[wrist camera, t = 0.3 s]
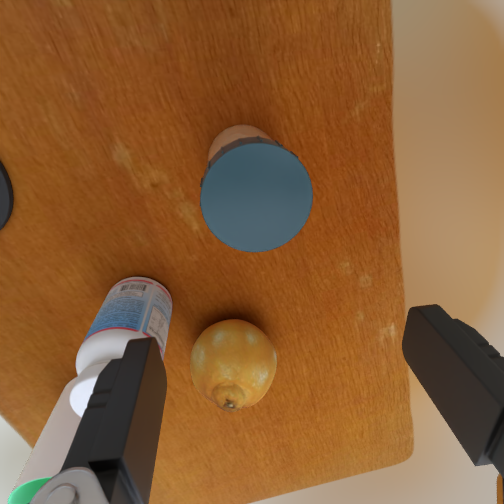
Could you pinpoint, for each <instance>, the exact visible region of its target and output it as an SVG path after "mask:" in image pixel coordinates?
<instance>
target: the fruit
mask: <svg viewBox="0 0 504 504" xmlns="http://www.w3.org/2000/svg"><path fill="white" fill-rule="evenodd" d="M276 366H277V355H276V351H275V348H274V346H273V344H272V343H271V341H270V340H269V338H268V337H267V336H266V335H265V333H263V332H262V331H261V330H260V329H259V328H258V327H256V326H255V325H253V324H251V323H249V322H247V321H244V320H240V319H229V320H224V321H220V322H218V323H215V324H213V325H211V326H210V327H208V328H207V329H205V330H204V331H203V332H202V333H201V335H200V336H199V337H198V339H197V340H196V342H195V344H194V346H193V348H192V352H191V358H190V371H191V377H192V380H193V384H194V386H195V387H196V389H197V390H198V392H199V393H200V394H201V395H202V396H204V397H205V398H206V399H208V400H209V401H211V402H212V403H214V404H216V405H217V406H218V407H220V408H221V409H222V410H224V411H227V412H235V411H238V410H240V409H242V408H247V407H250V406H252V405H254V404H255V403H257V402H258V401H259V400H260V399H261V398H262V397H263V396H264V395H265V394H266V392H267V391H268V389H269V387H270V385H271V383H272V381H273V379H274V376H275V372H276Z"/></svg>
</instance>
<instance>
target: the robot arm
mask: <svg viewBox="0 0 504 504" xmlns="http://www.w3.org/2000/svg"><path fill="white" fill-rule="evenodd" d="M402 350H403V354H404V357H405V360H406V362H407V363H408V365H409V366H410V368H411V369H412V371H413V372H414V374H415V375H416V377H417V379H418V380H419V382H420V383H421V385H422V386H423V387H424V389H425V391H426V392H427V394H428V395H429V397H430V398H431V400H432V401H433V403H434V404H435V405H436V407H437V409H438V410H439V412H440V413H441V415H442V416H443V418H444V419H445V421H446V422H447V424H448V425H449V427H450V428H451V430H452V432H453V433H454V435H455V436H456V438H457V439H458V441H459V442H460V444H461V445H462V447H463V448H464V450H465V451H466V453H467V454H468V456H469V457H470V459H471V460H472V462H473V463H474V465H475V466H480V465H487V464H493V465H494V466H495V467H496V469H497V470H498V472H499V474H498V477H497V504H504V357H501V356H500V353H499V352H498V351H497V350H496V349H495V348H494V347H493V346H492V345H489V343H488V341H487V340H486V339H485V338H484V337H483V336H481V335H480V334H479V333H478V332H477V331H476V330H475V329H474V328H472V327H470V326H469V325H467V324H465V323H464V322H462V321H460V320H458V319H452V318H451V317H450V316H449V315H448V314H447V313H446V312H445V311H444V310H443V309H442V308H441V307H440V306H439V305H437V304H433V305H425V306H416V307H412V308H410V309H409V312H408V316H407V321H406V326H405V331H404V336H403V340H402ZM166 390H167V377H166V371H165V367H164V363H163V360H162V356H161V353H160V349H159V346H158V342H157V339H156V338H155V337H146V338H137V339H130V340H129V341H128V342H127V345H126V348H125V351H124V354H123V357H122V358H118V359H111V361H110V362H109V363H108V364H107V365H106V367H105V368H104V369H103V370H102V371H101V372H100V374H99V375H98V378H97V380H96V383H95V386H94V388H93V393H92V394H91V396H90V398H89V401H88V403H87V408H85V411H84V413H83V416H82V418H81V421H80V423H79V426H78V428H77V431H76V434H75V436H74V439H73V441H72V444H71V446H70V449H69V451H68V454H67V456H66V459H65V461H64V464H63V466H62V468H61V470H60V472H59V473H58V474H56V475H55V476H53V477H52V478H51V479H49V480H48V481H47V482H46V483H45V484H44V485H43V486H42V487H41V488H40V489H39V490H38V491H37V492H36V494H35V495H34V497H33V498H32V500H31V501H30V502H29V503H28V504H148V503H149V497H150V490H151V484H152V478H153V472H154V466H155V459H156V453H157V447H158V441H159V435H160V428H161V422H162V416H163V410H164V403H165V397H166Z"/></svg>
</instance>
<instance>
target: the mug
mask: <svg viewBox="0 0 504 504" xmlns="http://www.w3.org/2000/svg"><path fill="white" fill-rule="evenodd" d="M76 378H77V377H76ZM76 378H74V379H73V380H71V381H70V382H69V383H68V384H67V385H66V386H65V388H64V390H63V392H62V394H61V396H60V398H59V400H58V402H57V403H56V405H55V407H54V409H53V411H52V413H51V415H50V417H49V419H48V421H47V423H46V425H45V427H44V429H43V431H42V433H41V435H40V437H39V439H38V441H37V443H36V445H35V447H34V449H33V451H32V453H31V455H30V457H29V459H28V461H27V463H26V465H25V467H24V469H23V470H22V472H21V474H20V477H19V478H18V480H17V482H16V484H15V486H14V488H13V490H12V492H11V494H10V496H9V498H8V504H28V503H29V502H30V501H31V500H32V498H33V497H34V495H35V494H36V492H37V491H38V490H39V489H40V488H41V487H42V486H43V485H44V484H45V483H46V482H47V481H48V480H49V479H51V478H52V477H53V476H55V475H56V474H58V473H59V472H60V470H61V468H62V466H63V464H64V461H65V459H66V456H67V454H68V451H69V449H70V446H71V444H72V441H73V439H74V436H75V434H76V431H77V428H78V426H79V423H80V421H81V417H80V416H79V415H78V414H76V413H75V411H74V410H73V409H72V407H71V405H70V400H69V398H70V393H71V390H72V388H73V386H74V384H75V380H76Z"/></svg>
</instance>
